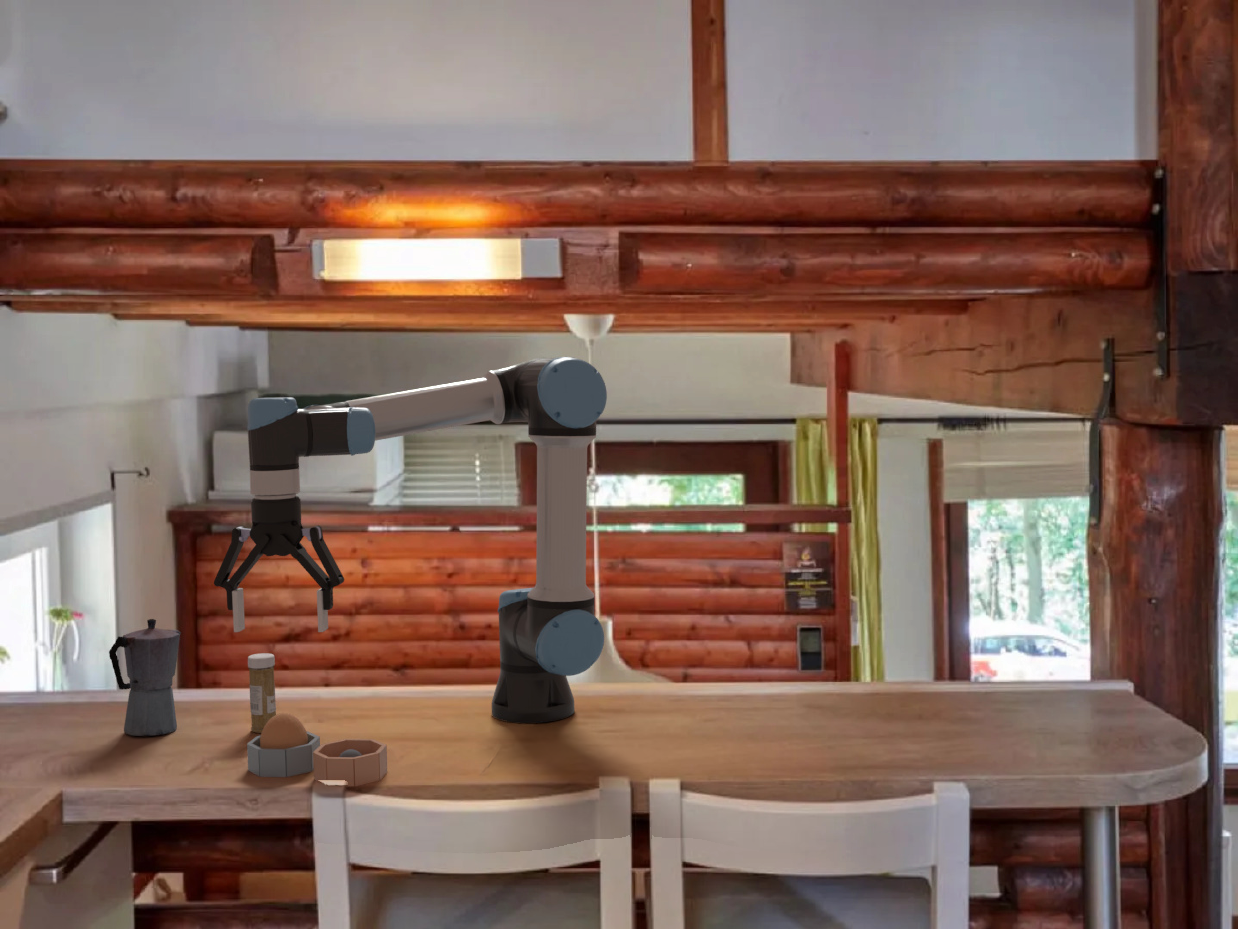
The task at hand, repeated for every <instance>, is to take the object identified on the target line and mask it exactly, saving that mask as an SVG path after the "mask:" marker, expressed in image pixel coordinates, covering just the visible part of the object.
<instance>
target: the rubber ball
mask: <svg viewBox="0 0 1238 929" xmlns="http://www.w3.org/2000/svg"><path fill="white" fill-rule="evenodd" d="M357 756H362V755H361V753H360V752H358V751H356V750H353V749H349V750H346V751H344V752H342V753H341V754H340V756H339V757H357Z"/></svg>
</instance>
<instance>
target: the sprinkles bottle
mask: <svg viewBox="0 0 1238 929" xmlns="http://www.w3.org/2000/svg"><path fill="white" fill-rule="evenodd" d="M275 661H276V659H275V655H274V654H272V653H267V652H262V653H261V652H260V653H254V654H251V655H249V656H247V668H248V670H249V675H248V676H249V684H248V685H249V703H250V706H249V707H250V708H249V709H250V715H251V717H250V718H251V720H250V721H251V727H250V730H251V732H252V733H256V734H261V733H262V731H263V729H264V727H265V725H266V723H267V722H268V721H269V720H270V719H271V718H272V717H274V716H275V715H277V712H276V711H277V704H276V702H277V701H276V700H277V699H276V684H275V664H276V662H275Z"/></svg>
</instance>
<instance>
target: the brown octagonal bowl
mask: <svg viewBox="0 0 1238 929" xmlns="http://www.w3.org/2000/svg"><path fill="white" fill-rule="evenodd" d="M349 749H353V750H356V751H358V752H360V753H361V755H362V756H357V757H339V756H340V754H341V753H342V752H344V751H346V750H349ZM387 750H388V746H387V744H386V743H383V742H381V741H379V740H377V739H374V738H345V739H339V740H336V741H331V742H330V741H329V742H326V743H322V744H321V743H320V746H319V747H318V748H317V749H316V750H315V751H314V752H313V764H314V770H313V780H314V781H317V782H318V780H345V781H347V782H348V786H347V787H359V786H362V785H366V784H370V783H374V782H375V783H376V782H378V781H381V780H382V779H383V777H385V775H386V774H387V773H388V751H387Z"/></svg>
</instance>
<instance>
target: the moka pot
mask: <svg viewBox="0 0 1238 929" xmlns="http://www.w3.org/2000/svg"><path fill="white" fill-rule="evenodd" d="M156 623H157V620H156V619H154V618H150V619H147V626H148V627H147V628H143V629H139V630H134V631H131V632H129V633H126V634H124V635H122V636H117V639H116V640H115V642H114V643H113V644H112V646H111V648H110V650H108V655H109V660H110V661H111V665H112V669H113V671H114V672H113V673H114V675H115V678H116V679H115V680H116V683H117V685H118V689H119V690H123V691H124V690H129V692H128V699H127V707H126V713H125V718H124V725H123V732H124V733H125V734H127V735H129V736H136V737H149V736H150V737H151V736H152V737H153V736H160V735H161V736H162V735H166V734H169V733H173V732H176V730H177V729H178V722H177V717H176V707H175V699H174V698H175V697H174V691H173V687H172V686H173V680H174V679H173V678H174V676H176V670H177V660H178V653H179V644H180V636H181V635H182V632H181V631H179V630H178V629H162V628H157V627H156ZM119 648H124V657H125V659H124V660H125V665H126V676H127V677H128V679H129V683H128V682H127V683H125V681H124V679H123V676H122V672H121V668H120V664H119V659H118V658H119V657H118V655H117V652H118V650H119Z"/></svg>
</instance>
